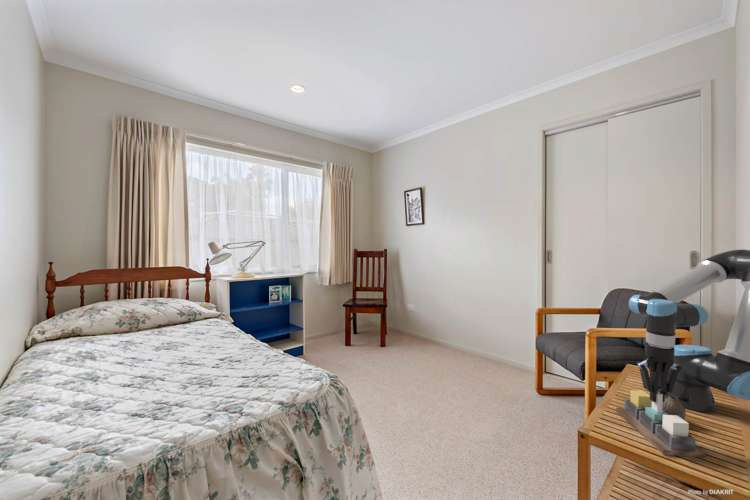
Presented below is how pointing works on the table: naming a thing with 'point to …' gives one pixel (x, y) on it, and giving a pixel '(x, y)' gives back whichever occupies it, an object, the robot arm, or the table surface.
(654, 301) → the robot arm
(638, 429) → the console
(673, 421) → the plunger cream
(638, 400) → the plunger ochre
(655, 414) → the plunger teal
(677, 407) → the vase
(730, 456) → the table surface
